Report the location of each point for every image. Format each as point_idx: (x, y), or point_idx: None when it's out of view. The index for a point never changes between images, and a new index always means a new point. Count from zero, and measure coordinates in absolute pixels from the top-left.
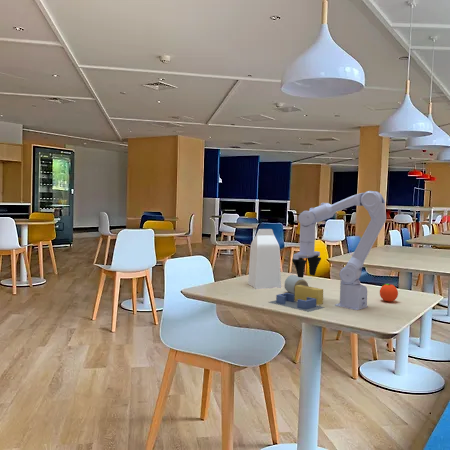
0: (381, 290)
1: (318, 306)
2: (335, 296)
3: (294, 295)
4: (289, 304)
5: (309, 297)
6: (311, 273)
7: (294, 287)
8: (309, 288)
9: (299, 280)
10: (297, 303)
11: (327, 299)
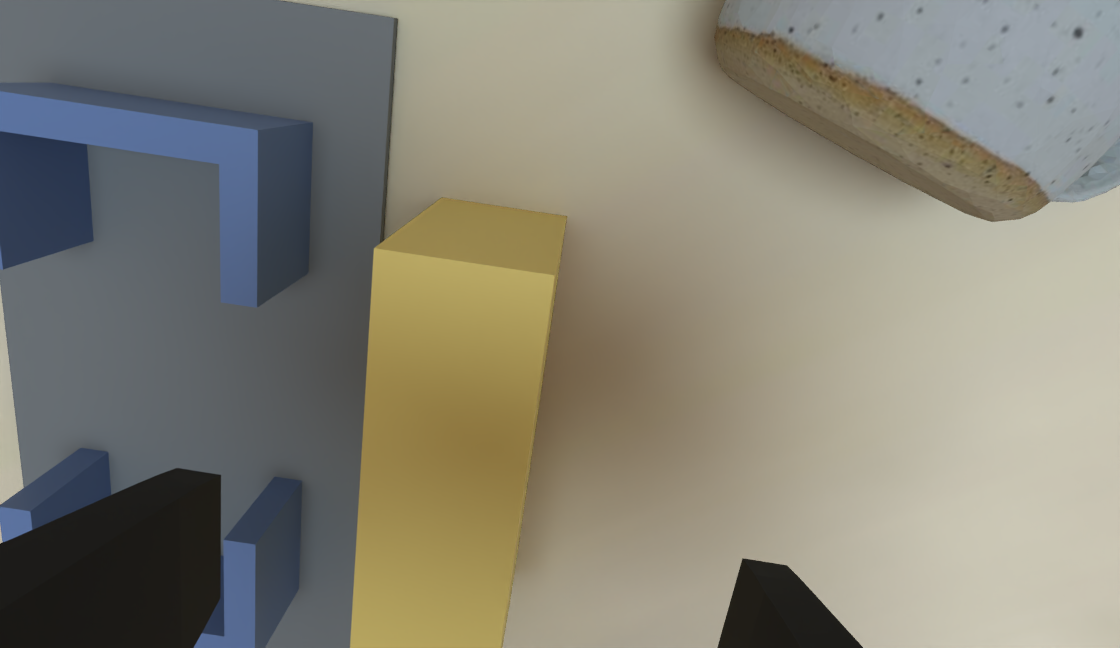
0: None
1: (334, 601)
2: (1097, 519)
3: (260, 300)
4: (128, 293)
5: (249, 570)
6: (735, 645)
7: (722, 30)
8: (365, 568)
9: (870, 105)
10: (41, 477)
11: (829, 511)
